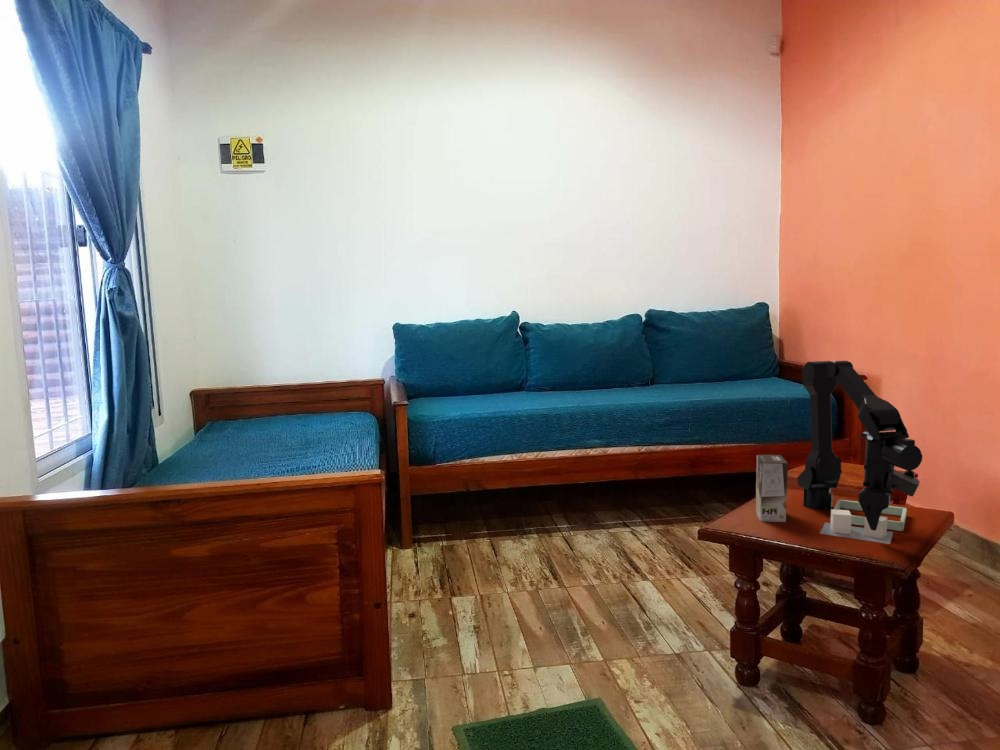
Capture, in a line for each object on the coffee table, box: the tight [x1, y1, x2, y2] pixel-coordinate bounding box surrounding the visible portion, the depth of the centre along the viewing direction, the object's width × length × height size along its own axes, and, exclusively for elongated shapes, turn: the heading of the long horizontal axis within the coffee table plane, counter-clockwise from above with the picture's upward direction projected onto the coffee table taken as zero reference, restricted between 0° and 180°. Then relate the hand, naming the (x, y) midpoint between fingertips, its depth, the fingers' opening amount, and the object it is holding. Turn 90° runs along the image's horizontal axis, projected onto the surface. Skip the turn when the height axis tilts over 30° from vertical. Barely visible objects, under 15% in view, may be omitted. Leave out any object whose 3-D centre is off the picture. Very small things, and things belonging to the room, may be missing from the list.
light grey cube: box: [863, 515, 888, 539], centre depth 178 cm, size 4×4×4 cm
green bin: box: [833, 498, 908, 532], centre depth 191 cm, size 16×13×3 cm
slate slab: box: [819, 521, 894, 545], centre depth 180 cm, size 15×9×1 cm, turn 59°
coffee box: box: [755, 454, 789, 523], centre depth 193 cm, size 9×6×16 cm
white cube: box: [829, 508, 853, 534], centre depth 182 cm, size 4×4×4 cm
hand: (875, 524), depth 178 cm, fingers open, 9 cm apart
